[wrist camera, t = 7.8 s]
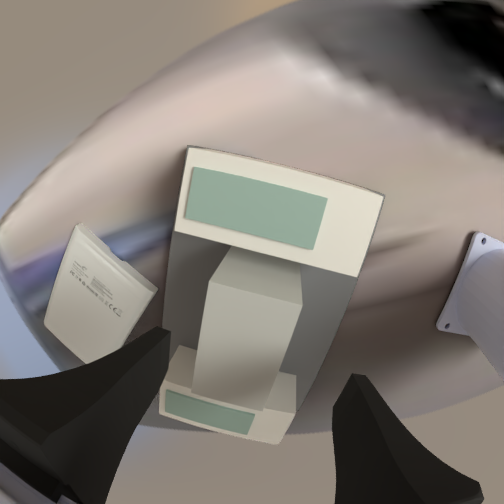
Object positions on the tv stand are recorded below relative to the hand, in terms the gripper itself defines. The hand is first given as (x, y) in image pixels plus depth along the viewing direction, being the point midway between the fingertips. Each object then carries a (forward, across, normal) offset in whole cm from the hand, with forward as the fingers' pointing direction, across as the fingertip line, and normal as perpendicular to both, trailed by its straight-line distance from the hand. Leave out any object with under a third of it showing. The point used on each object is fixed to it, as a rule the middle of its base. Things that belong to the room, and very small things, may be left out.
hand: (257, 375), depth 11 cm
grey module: (+8, +1, +1) cm, 8 cm away
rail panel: (+9, +1, +2) cm, 9 cm away
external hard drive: (+10, +14, +7) cm, 19 cm away
